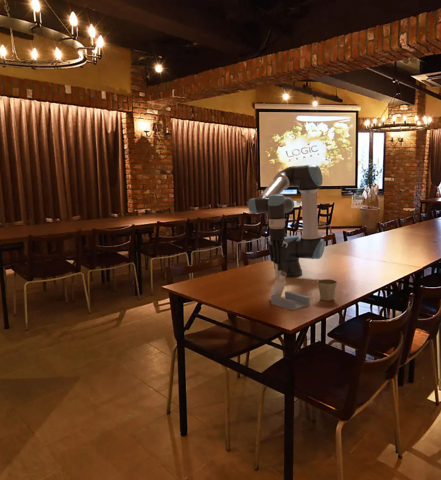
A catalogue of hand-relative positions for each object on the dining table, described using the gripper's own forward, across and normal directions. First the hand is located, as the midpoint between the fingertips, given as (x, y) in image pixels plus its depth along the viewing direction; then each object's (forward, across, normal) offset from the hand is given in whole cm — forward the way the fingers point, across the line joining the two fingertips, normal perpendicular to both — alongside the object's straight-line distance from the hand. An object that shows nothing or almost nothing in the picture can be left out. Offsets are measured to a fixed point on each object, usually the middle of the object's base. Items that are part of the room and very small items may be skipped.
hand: (278, 276), depth 187 cm
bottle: (+11, -3, 0) cm, 11 cm away
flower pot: (+12, +14, +18) cm, 26 cm away
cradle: (+12, +7, 0) cm, 14 cm away
